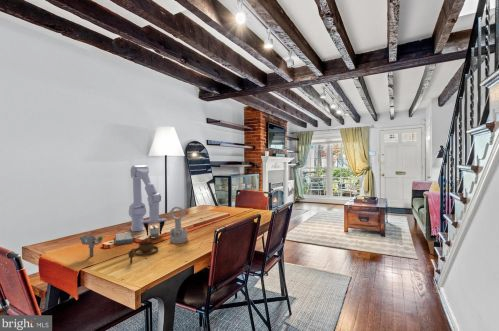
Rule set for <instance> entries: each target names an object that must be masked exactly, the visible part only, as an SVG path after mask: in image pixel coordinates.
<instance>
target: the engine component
mask: <svg viewBox="0 0 499 331" xmlns="http://www.w3.org/2000/svg"><path fill="white" fill-rule="evenodd" d="M176 209H178V210H179V211H180V212H181V215H180V216H179V217H176V216H175V215H174V210H176ZM169 217H170V218H172V219H173V220H174V226H175V227H173V228H170V230H169V235H170V236H169V242H170V243H172V244H181V243H185V242H187V241H188V228H185V230H184V229H183V228H182V218H184V217H186V211H185V210H184V208H183V207H182V206H179V205H178V206H173V208H171V210H169Z"/></svg>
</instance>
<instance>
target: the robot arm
mask: <svg viewBox="0 0 499 331" xmlns="http://www.w3.org/2000/svg"><path fill="white" fill-rule="evenodd" d="M149 171H150V168H149V167H148V165H146V164H145V165H132V166H131V167H130V178H132V191H133V192H132V195H133V202H132V203H130V205H129V209H128V216H129V217H131V227H130V232H131V233H132V232H139V231H140V232H141V231H145V232H146V236H149V224H155V223H157V224H158V223H159V235H161V234H162V231H163V228H164V226H165V223H167V218H160V202H161V201H162V195H161V193H160V192H158V191H157V189H156V187H155V184H153V183H152V182H151V180H150V176H149V173H150V172H149ZM142 182H143V183H144V190H145V192H146V195H147V198H146V199H147V203H148V208H149V209H148V210H149V212H148V213H149V214H148V219H144V217H145V215H146V214H147V209H146V208H147V207H146V204H145V203H144V202H142Z"/></svg>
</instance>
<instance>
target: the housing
mask: <svg viewBox="0 0 499 331" xmlns="http://www.w3.org/2000/svg"><path fill="white" fill-rule="evenodd" d="M159 230H160V227H158V225H155V224H154V225H148V235H149V234H150V236H151V237H155V239H159V238H160V237H159V235H160V233H159ZM150 236H149V237H150Z"/></svg>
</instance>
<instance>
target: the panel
mask: <svg viewBox="0 0 499 331" xmlns="http://www.w3.org/2000/svg"><path fill="white" fill-rule="evenodd" d="M114 241H115V242H114V245H115V244H116V245H117V246H118V245H126V244H127V245H128V244H133V242H134V239H133V234H132V232H131V231H130V232H121V233H116V234H115V235H114ZM116 245H115V246H116Z"/></svg>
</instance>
